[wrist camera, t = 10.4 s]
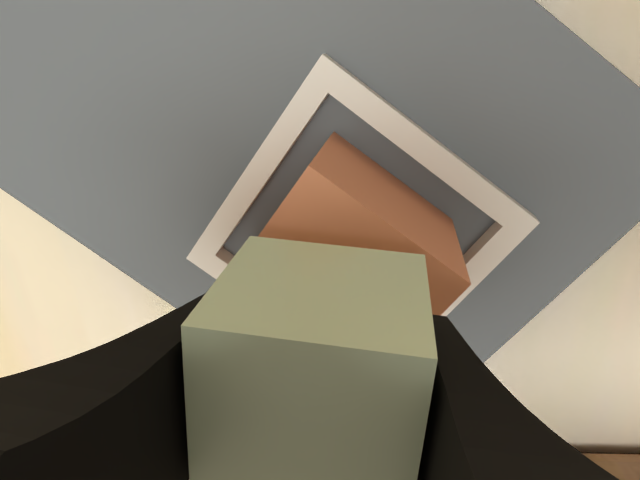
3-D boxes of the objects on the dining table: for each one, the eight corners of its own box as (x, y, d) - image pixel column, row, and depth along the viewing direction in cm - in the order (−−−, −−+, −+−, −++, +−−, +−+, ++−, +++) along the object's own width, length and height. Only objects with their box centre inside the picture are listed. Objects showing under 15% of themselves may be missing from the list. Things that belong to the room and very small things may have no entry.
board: (698, 145, 16) (732, 157, 14) (386, 434, 22) (385, 466, 20) (117, -337, 14) (78, -389, 12) (-54, 131, 20) (-95, 140, 18)
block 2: (424, 254, 11) (437, 359, 7) (403, 399, 13) (405, 546, 9) (249, 235, 12) (181, 325, 8) (249, 378, 13) (191, 509, 9)
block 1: (452, 218, 17) (471, 284, 12) (363, 317, 19) (352, 405, 14) (333, 131, 17) (308, 165, 12) (255, 241, 19) (207, 307, 14)
